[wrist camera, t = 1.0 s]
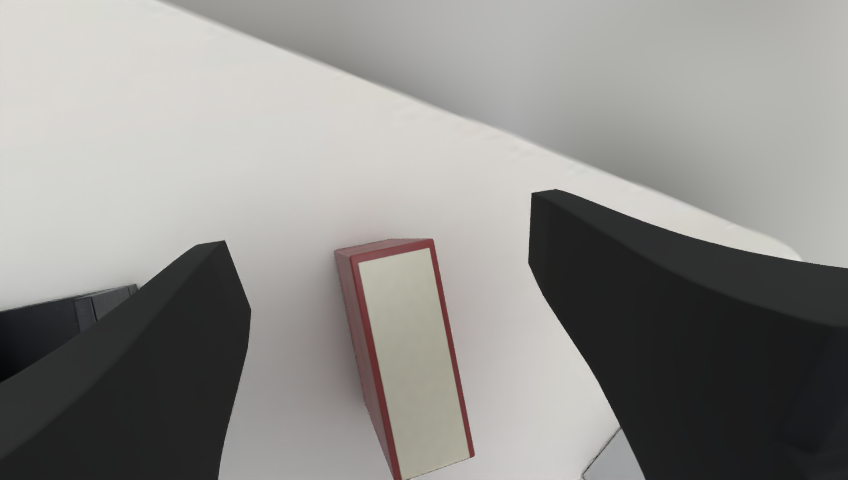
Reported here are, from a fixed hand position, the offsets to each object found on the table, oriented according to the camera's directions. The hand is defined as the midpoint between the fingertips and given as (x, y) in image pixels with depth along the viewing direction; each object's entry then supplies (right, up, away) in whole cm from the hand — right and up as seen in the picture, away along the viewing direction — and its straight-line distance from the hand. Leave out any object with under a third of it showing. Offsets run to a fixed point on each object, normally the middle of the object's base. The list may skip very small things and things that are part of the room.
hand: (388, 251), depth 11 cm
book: (-1, -4, +12) cm, 13 cm away
